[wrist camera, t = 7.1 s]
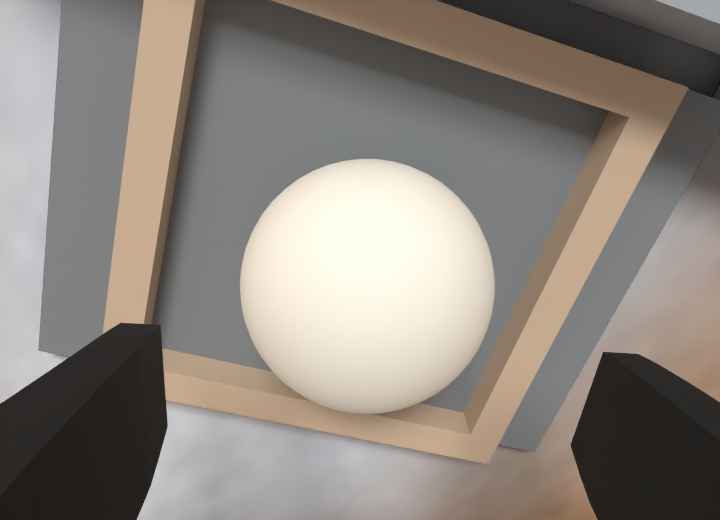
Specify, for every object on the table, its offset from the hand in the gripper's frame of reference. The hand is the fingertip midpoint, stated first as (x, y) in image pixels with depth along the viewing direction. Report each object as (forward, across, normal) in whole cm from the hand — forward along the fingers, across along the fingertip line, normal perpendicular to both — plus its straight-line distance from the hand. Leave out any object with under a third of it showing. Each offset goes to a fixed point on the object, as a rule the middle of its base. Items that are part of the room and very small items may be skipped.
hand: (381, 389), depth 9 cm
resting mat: (+7, 0, 0) cm, 7 cm away
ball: (+4, 0, 0) cm, 4 cm away
